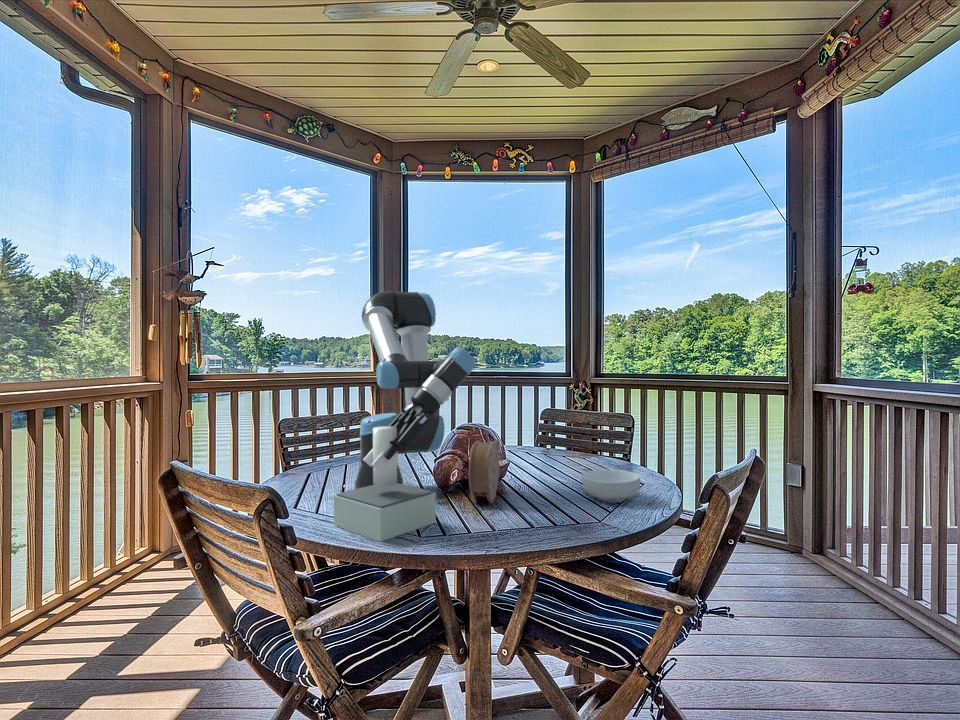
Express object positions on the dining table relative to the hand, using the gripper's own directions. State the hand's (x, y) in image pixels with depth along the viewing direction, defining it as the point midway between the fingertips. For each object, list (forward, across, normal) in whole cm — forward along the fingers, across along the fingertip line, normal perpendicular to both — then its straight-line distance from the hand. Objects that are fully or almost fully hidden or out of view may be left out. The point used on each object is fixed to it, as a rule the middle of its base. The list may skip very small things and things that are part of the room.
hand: (371, 465), depth 137 cm
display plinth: (+8, 0, -13) cm, 16 cm away
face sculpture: (-16, +8, -38) cm, 42 cm away
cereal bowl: (-38, -11, -60) cm, 72 cm away
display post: (+1, 0, -6) cm, 6 cm away
